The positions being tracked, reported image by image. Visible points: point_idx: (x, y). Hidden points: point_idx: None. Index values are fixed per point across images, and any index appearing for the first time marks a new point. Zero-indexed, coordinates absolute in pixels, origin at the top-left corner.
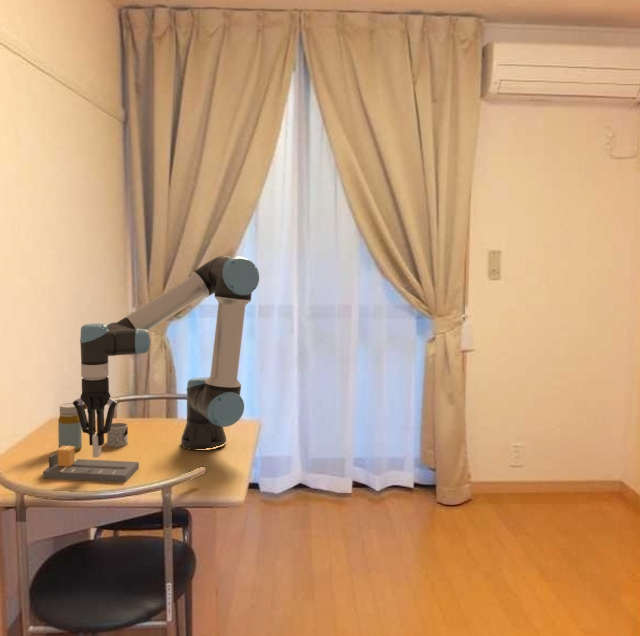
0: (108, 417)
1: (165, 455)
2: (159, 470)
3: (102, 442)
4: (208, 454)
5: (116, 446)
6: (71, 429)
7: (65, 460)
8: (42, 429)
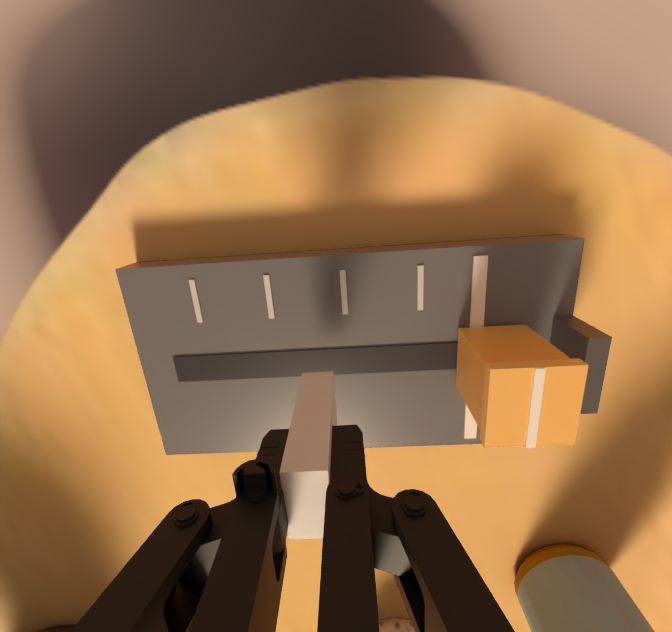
0: None
1: None
2: (85, 428)
3: (261, 449)
4: (19, 600)
5: (385, 623)
6: None
7: (494, 339)
8: None
